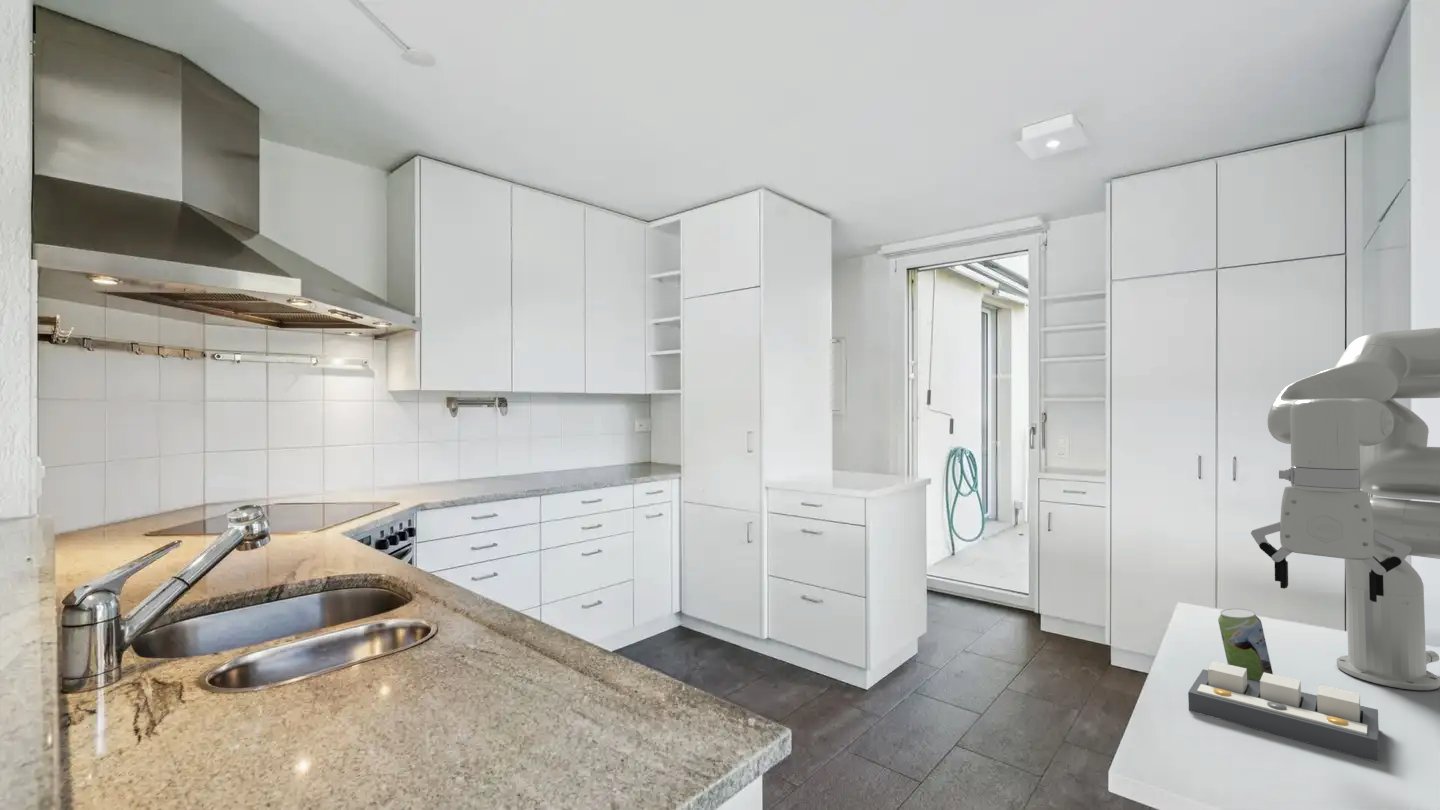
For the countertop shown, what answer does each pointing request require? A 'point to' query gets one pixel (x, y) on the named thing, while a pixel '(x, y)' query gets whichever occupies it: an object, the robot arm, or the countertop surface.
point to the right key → (1338, 703)
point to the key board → (1288, 718)
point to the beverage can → (1245, 642)
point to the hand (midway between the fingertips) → (1327, 593)
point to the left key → (1227, 677)
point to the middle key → (1280, 689)
